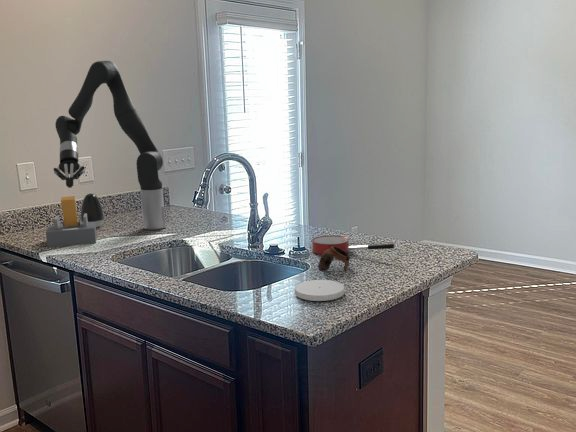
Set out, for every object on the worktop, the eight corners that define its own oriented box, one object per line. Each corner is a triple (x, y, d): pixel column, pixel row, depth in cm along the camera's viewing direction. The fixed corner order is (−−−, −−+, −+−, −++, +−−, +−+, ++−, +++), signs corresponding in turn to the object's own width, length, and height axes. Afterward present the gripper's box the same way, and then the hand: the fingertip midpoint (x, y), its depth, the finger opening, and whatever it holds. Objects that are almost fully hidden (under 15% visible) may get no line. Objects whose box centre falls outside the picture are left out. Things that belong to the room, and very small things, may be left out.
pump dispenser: (109, 224, 275) (106, 191, 272) (99, 229, 265) (96, 195, 262) (87, 224, 276) (84, 191, 273) (77, 229, 266) (74, 195, 263)
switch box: (96, 235, 253) (94, 212, 251) (95, 242, 241) (93, 218, 239) (51, 239, 249) (48, 215, 247) (47, 247, 236) (44, 222, 234)
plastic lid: (300, 306, 164) (300, 297, 163) (290, 290, 177) (290, 282, 177) (350, 301, 166) (350, 292, 166) (336, 286, 180) (336, 278, 179)
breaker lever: (80, 223, 247) (76, 196, 240) (79, 226, 245) (76, 199, 238) (63, 224, 245) (59, 197, 238) (63, 227, 243) (59, 200, 236)
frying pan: (404, 256, 210) (404, 238, 208) (388, 265, 199) (388, 246, 198) (324, 245, 227) (323, 228, 226) (305, 253, 217) (305, 236, 215)
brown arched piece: (323, 264, 204) (335, 244, 202) (344, 280, 199) (357, 259, 198) (306, 264, 193) (319, 242, 191) (329, 281, 189) (342, 259, 187)
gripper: (51, 149, 256) (51, 182, 246) (84, 147, 259) (85, 179, 250) (53, 160, 262) (54, 193, 253) (86, 158, 265) (87, 190, 256)
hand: (69, 186), depth 251 cm, fingers closed
